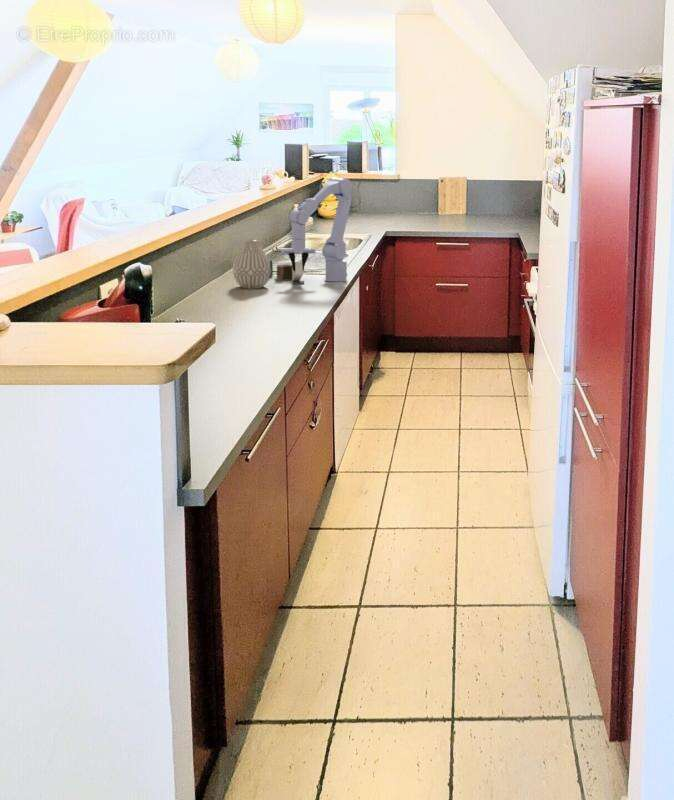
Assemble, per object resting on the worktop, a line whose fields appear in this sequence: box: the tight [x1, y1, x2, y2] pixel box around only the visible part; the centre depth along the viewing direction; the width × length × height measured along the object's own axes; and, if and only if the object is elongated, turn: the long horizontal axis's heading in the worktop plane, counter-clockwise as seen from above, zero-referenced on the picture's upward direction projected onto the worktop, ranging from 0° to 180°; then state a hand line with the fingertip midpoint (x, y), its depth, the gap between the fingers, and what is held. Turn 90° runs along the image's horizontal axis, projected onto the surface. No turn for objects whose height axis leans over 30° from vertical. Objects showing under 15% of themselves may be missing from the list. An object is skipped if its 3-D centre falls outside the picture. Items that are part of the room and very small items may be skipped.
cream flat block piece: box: [291, 261, 304, 282], centre depth 425 cm, size 3×12×6 cm, turn 10°
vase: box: [232, 238, 271, 290], centre depth 413 cm, size 16×16×20 cm
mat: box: [292, 280, 305, 285], centre depth 427 cm, size 5×6×1 cm
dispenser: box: [276, 261, 293, 281], centre depth 437 cm, size 10×8×7 cm
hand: (298, 270), depth 422 cm, fingers closed on cream flat block piece, 3 cm apart
